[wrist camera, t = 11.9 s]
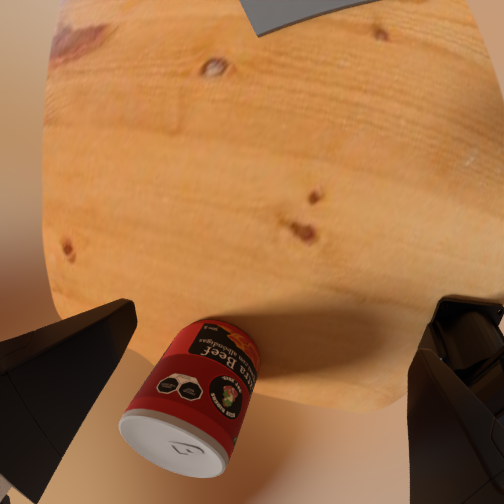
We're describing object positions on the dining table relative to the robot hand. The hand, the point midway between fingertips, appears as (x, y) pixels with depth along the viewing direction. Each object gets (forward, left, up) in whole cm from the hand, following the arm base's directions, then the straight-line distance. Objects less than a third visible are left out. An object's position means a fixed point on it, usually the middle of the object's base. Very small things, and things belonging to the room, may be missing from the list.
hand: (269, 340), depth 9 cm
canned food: (+6, +14, -13) cm, 20 cm away
